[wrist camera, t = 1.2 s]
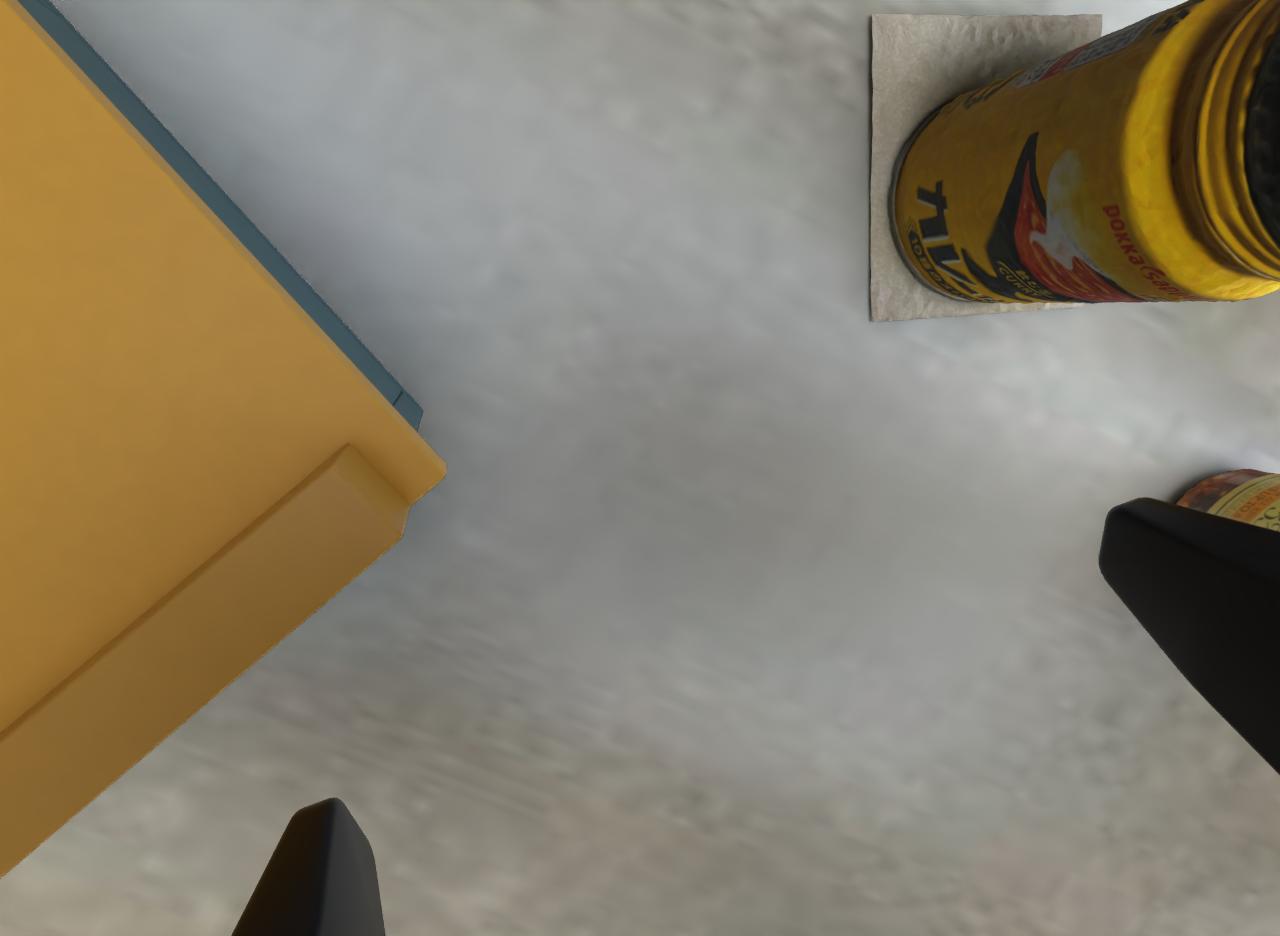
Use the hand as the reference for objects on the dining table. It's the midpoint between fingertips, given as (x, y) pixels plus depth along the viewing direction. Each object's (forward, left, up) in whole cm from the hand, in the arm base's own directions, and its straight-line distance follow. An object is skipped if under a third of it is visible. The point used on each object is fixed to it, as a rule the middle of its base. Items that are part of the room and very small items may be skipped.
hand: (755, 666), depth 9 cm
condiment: (+8, -12, -15) cm, 21 cm away
